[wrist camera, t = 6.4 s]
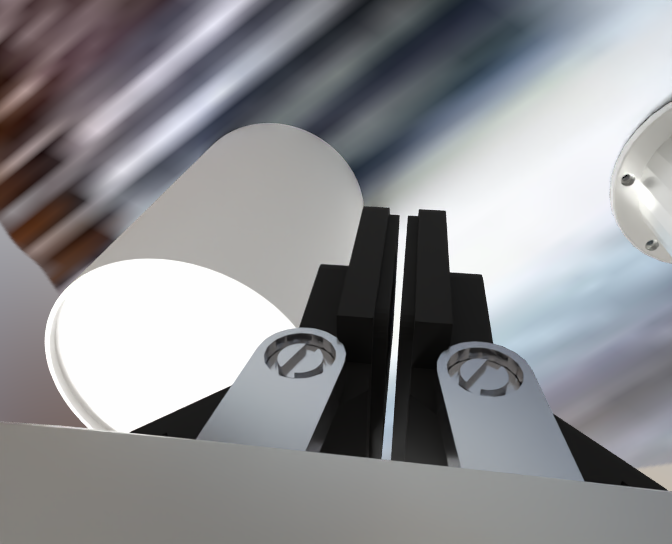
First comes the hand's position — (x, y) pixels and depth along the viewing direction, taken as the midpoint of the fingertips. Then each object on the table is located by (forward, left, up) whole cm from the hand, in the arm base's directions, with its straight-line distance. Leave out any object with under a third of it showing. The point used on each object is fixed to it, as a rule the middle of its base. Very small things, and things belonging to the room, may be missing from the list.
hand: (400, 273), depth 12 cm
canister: (+10, +12, -29) cm, 33 cm away
